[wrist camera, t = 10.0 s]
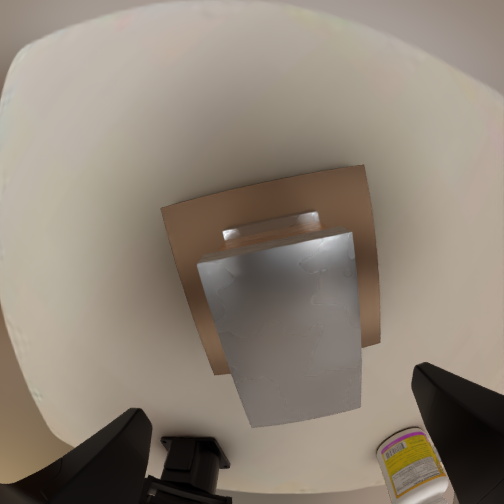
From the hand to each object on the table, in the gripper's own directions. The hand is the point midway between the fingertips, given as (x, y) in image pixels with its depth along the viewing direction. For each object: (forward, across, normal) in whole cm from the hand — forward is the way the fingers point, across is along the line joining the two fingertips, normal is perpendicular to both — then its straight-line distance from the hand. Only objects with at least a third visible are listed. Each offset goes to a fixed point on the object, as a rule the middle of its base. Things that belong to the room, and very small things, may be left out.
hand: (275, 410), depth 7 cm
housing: (+9, -1, 0) cm, 9 cm away
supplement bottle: (+12, -12, +26) cm, 31 cm away
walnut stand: (+12, -1, 0) cm, 12 cm away
